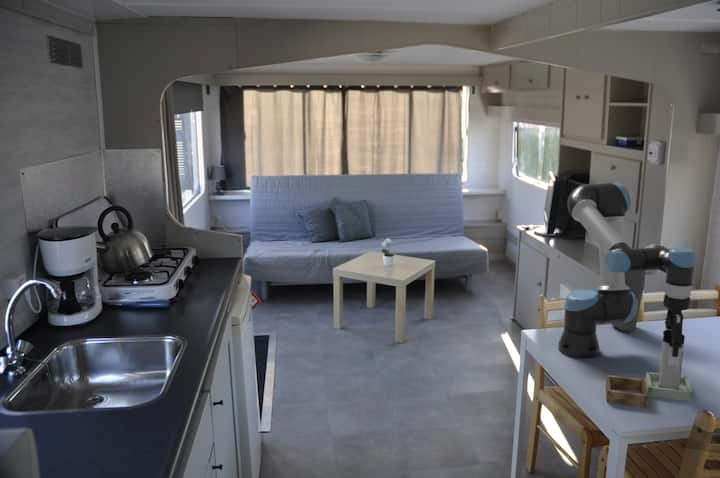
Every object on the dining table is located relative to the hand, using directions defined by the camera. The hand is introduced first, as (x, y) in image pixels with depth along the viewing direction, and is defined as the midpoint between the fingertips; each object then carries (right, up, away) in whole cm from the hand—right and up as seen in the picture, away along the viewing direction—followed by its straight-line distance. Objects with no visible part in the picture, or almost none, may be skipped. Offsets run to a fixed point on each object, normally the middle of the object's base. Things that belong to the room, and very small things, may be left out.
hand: (670, 355), depth 200 cm
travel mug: (0, -11, +2) cm, 11 cm away
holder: (-15, -13, -1) cm, 20 cm away
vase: (+9, +1, +56) cm, 57 cm away
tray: (0, -12, +2) cm, 12 cm away
